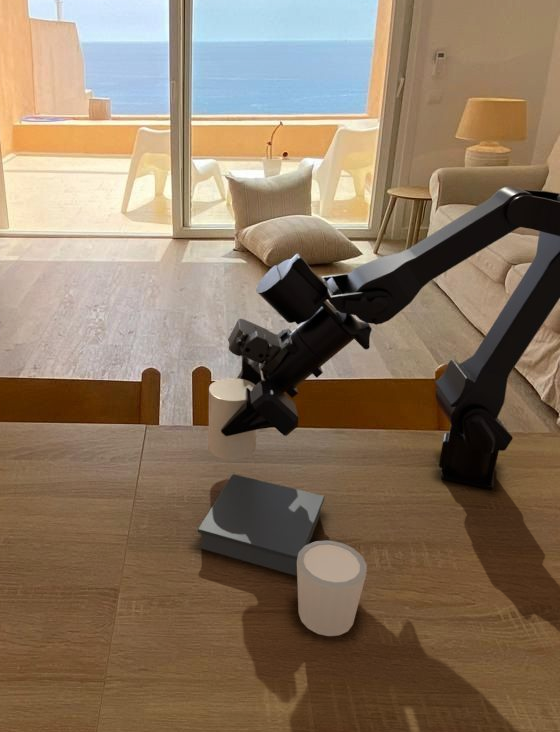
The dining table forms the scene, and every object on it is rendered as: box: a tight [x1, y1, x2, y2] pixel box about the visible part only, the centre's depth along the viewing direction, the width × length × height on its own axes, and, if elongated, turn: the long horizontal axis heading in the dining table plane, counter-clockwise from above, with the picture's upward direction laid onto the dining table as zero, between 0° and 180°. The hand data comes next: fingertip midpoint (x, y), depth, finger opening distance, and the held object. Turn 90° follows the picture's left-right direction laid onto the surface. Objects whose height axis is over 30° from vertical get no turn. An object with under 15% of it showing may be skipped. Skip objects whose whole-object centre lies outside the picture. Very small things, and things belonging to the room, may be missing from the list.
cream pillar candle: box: [208, 377, 257, 462], centre depth 93 cm, size 6×6×9 cm
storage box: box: [197, 473, 326, 577], centre depth 83 cm, size 12×12×3 cm
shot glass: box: [296, 540, 368, 637], centre depth 70 cm, size 7×7×7 cm
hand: (222, 420), depth 93 cm, fingers closed on cream pillar candle, 6 cm apart
